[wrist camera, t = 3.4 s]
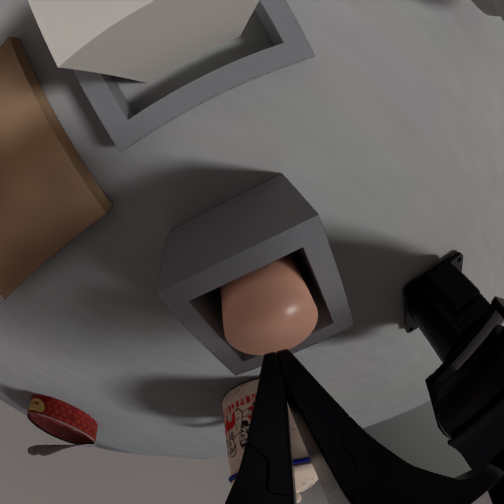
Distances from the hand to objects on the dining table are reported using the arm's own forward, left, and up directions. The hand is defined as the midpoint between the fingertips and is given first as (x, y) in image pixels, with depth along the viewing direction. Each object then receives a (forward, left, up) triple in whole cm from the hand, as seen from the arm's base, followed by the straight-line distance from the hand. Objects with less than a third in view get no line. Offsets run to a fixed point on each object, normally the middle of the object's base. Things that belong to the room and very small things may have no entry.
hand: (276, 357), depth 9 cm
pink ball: (0, 0, -6) cm, 6 cm away
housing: (0, 0, -7) cm, 7 cm away
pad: (+12, +11, -7) cm, 18 cm away
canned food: (-10, +32, -8) cm, 34 cm away
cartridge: (+12, -2, -7) cm, 15 cm away
